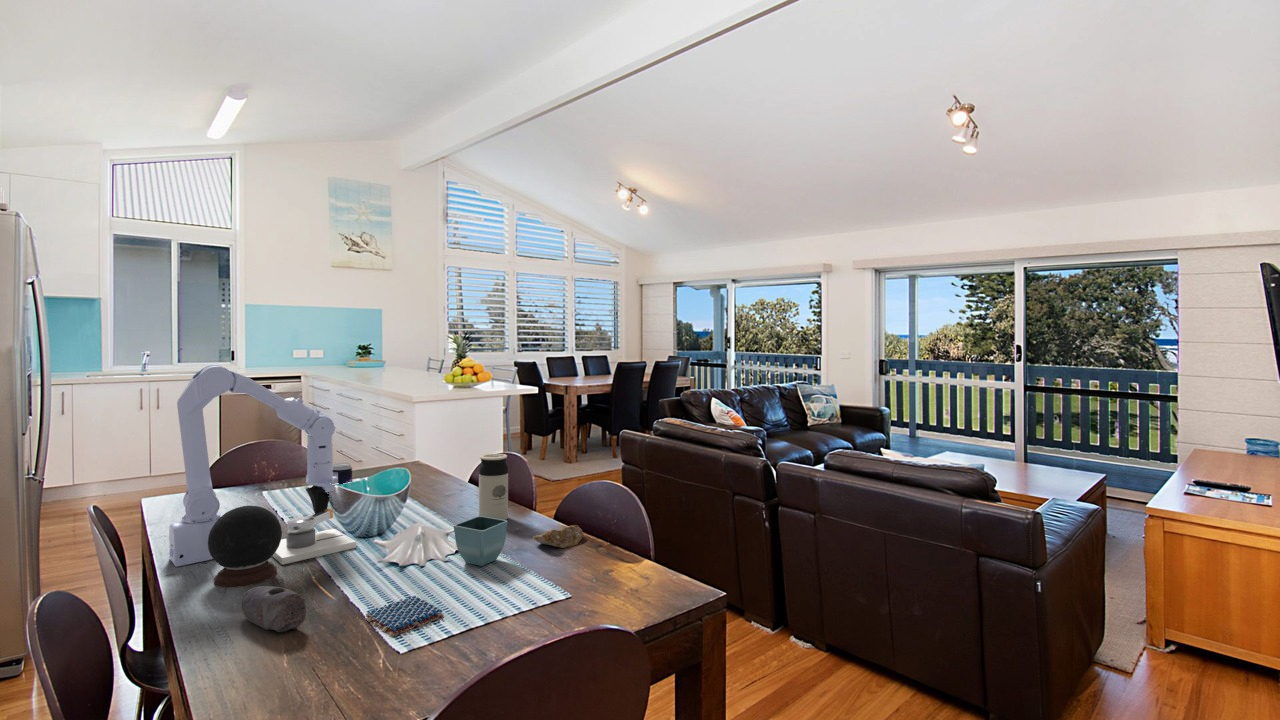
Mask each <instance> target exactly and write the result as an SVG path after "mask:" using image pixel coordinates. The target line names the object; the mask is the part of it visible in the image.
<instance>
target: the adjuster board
mask: <svg viewBox="0 0 1280 720" xmlns="http://www.w3.org/2000/svg"><path fill="white" fill-rule="evenodd" d="M285 534H286V536H285V537H286V538H281V541H280V544H279V547H278V549H277V550H276V552H275V553H274V554H273V556H272V558H274V559H275V560H276V561H277V562H279V563H280V564H281V565H287V564H292V563H297V562H301V561H304V560H307V559H309V560H310V559H313V558H317V557H321V556H322V557H323V556H326V555H330V554H334V553H335V554H336V553H339V552H343V551H347V550H352V549H356V548H357V541H356V540H354V539H352V538H351V537H349V536H348V535H346V534H345V533H343V532H341V531H339V530H337V529H336V528H331V529H325V530H321V531H317V532H316V529H315V528H314V530H313V531H311V532H308V533H303V534H289V533H287V532H286V533H285Z"/></svg>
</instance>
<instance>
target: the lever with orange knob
mask: <svg viewBox="0 0 1280 720" xmlns="http://www.w3.org/2000/svg"><path fill="white" fill-rule="evenodd" d="M333 518H334V509H333V508H327V509H325V510H324V511H321V512H319V513H316V514H315V513H314V514H311V515H310V516H302V517H296V518H292V519H289V520H287V522H286V523H287V524H286V525H287V527H286V528H287V529H286V530H287V532H286V533H289V534H303V533H308V532H311V531H313V530H314V529H315V525H316V526H317V525H318V524H321V523H323V522H325V521H328V520H330V519H333Z"/></svg>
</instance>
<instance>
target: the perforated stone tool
mask: <svg viewBox="0 0 1280 720" xmlns="http://www.w3.org/2000/svg"><path fill="white" fill-rule="evenodd" d="M240 603H241V604H240V608H241V611H242V614H243V616H244V617H245V619H246V620H248V621H249V622H250V623H252V624H254V625H256V626H258V627H259V628H261V629H264V630H267V631H269V630H270V631H275V632H277V633H285V632H288V631H289V630H293V629H296V628H299V626H301V624H303V623H304V621H305V620H306V618H307V617H306V616H307V605H306V600H305V598H304V597H303V596H302V595H301V594H299V593H297V592H296V591H293V590H290V589H287V588H285V587H280V586H272V585H271V586H270V585H269V586H268V585H261V586H260V585H259V586H254V587H252V588H250V589H247V590H246V591H245V592H244V593H243V595H242V598H241V601H240Z"/></svg>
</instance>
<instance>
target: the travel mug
mask: <svg viewBox="0 0 1280 720" xmlns="http://www.w3.org/2000/svg"><path fill="white" fill-rule="evenodd" d="M479 459H480V461H481V463H480V465H479V467H478V516H484V517H489V518H495V519H502V520H506V521H507V519H508V518H509V466H508V464H507V462H506V461H507V459H508V455H507V454H505V453H487V454H485V453H484V454H482V455H480V456H479Z"/></svg>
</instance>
